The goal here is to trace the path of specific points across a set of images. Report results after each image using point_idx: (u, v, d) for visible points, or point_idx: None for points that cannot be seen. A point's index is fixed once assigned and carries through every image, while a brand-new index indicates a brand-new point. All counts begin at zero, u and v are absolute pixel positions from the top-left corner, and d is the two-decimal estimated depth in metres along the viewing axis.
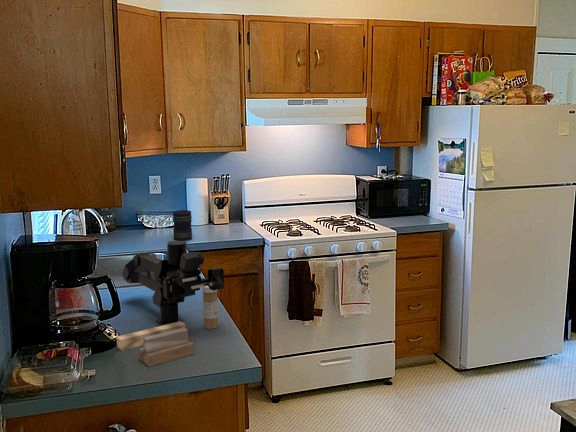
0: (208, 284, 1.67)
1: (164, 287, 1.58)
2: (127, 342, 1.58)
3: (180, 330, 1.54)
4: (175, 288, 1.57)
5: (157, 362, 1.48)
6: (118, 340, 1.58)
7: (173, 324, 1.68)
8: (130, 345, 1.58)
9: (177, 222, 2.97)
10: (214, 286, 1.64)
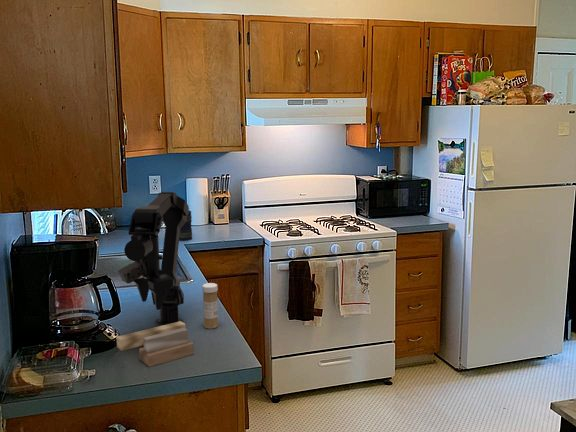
0: None
1: None
2: (127, 342, 1.58)
3: (180, 330, 1.54)
4: None
5: (157, 362, 1.48)
6: (118, 340, 1.58)
7: (173, 324, 1.68)
8: (130, 345, 1.58)
9: None
10: None
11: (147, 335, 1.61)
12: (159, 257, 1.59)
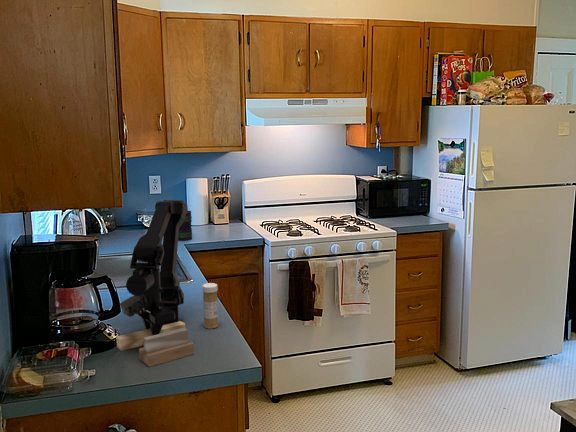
0: None
1: None
2: (127, 342, 1.58)
3: (180, 330, 1.54)
4: None
5: (157, 362, 1.48)
6: (118, 340, 1.58)
7: (173, 324, 1.68)
8: (129, 345, 1.58)
9: None
10: None
11: (147, 335, 1.61)
12: (160, 290, 1.61)
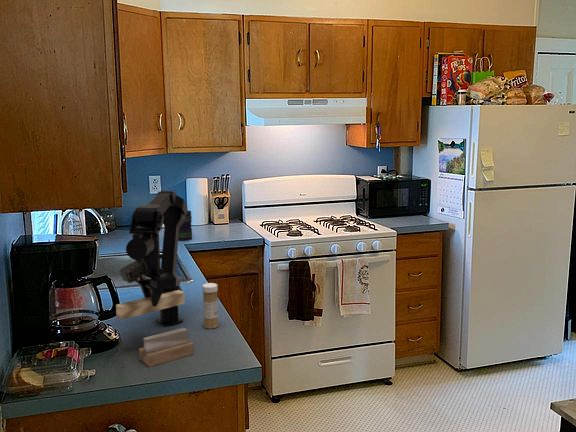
0: None
1: None
2: (127, 310, 1.55)
3: (180, 330, 1.54)
4: None
5: (157, 362, 1.48)
6: (118, 308, 1.55)
7: (172, 293, 1.66)
8: (130, 313, 1.55)
9: None
10: None
11: (147, 303, 1.59)
12: (160, 256, 1.59)
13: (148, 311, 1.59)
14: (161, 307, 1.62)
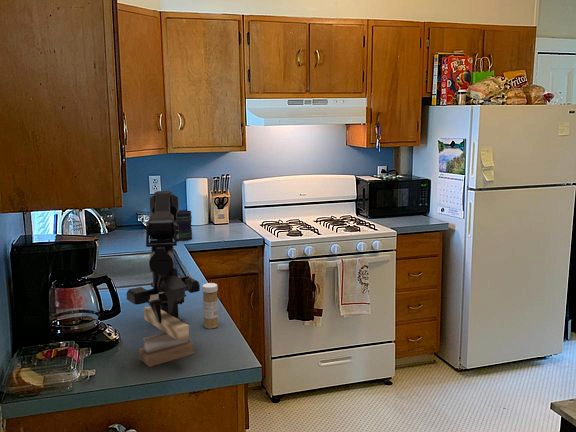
0: None
1: (131, 297, 1.44)
2: None
3: None
4: None
5: (157, 362, 1.48)
6: (182, 329, 1.43)
7: None
8: None
9: (177, 222, 2.97)
10: (169, 298, 1.52)
11: None
12: None
13: None
14: None
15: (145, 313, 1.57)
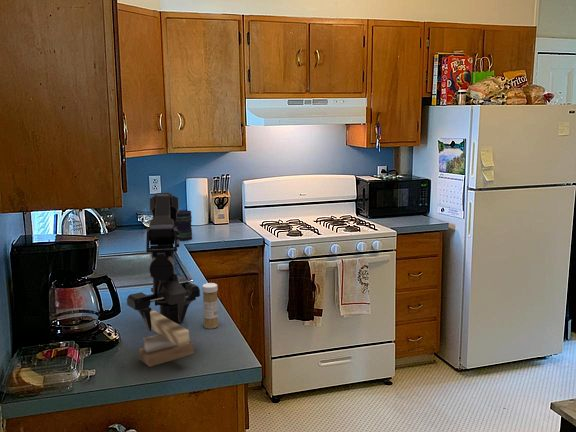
0: None
1: (131, 303, 1.44)
2: None
3: None
4: None
5: (157, 362, 1.48)
6: (182, 334, 1.43)
7: (153, 314, 1.56)
8: None
9: (177, 222, 2.97)
10: None
11: None
12: None
13: None
14: None
15: None
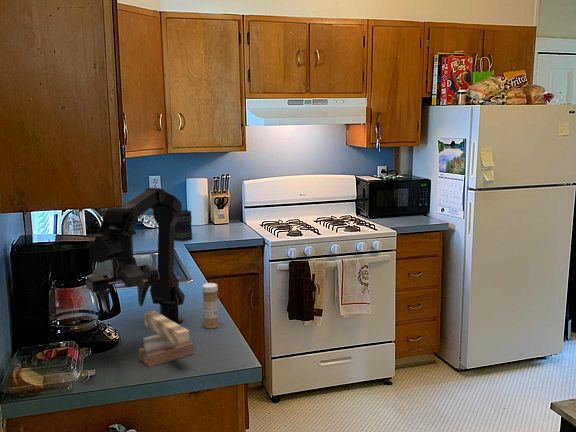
0: None
1: (90, 285, 1.47)
2: None
3: None
4: None
5: (157, 362, 1.48)
6: (182, 334, 1.43)
7: (153, 314, 1.56)
8: None
9: (177, 222, 2.97)
10: (139, 285, 1.58)
11: None
12: None
13: None
14: None
15: (145, 318, 1.57)
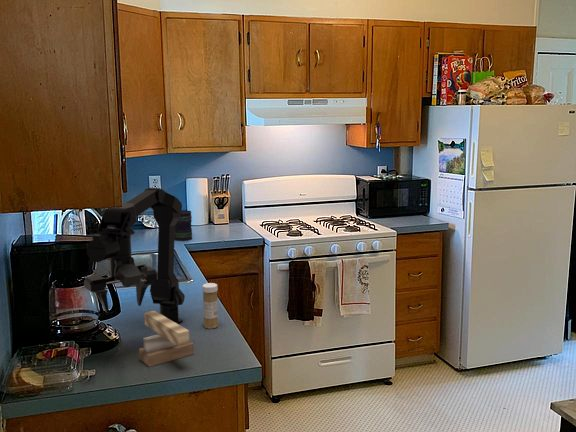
0: None
1: (87, 285, 1.47)
2: None
3: None
4: None
5: (157, 362, 1.48)
6: (182, 334, 1.43)
7: (153, 314, 1.56)
8: None
9: (177, 222, 2.97)
10: (137, 285, 1.58)
11: None
12: None
13: None
14: None
15: (145, 318, 1.57)
